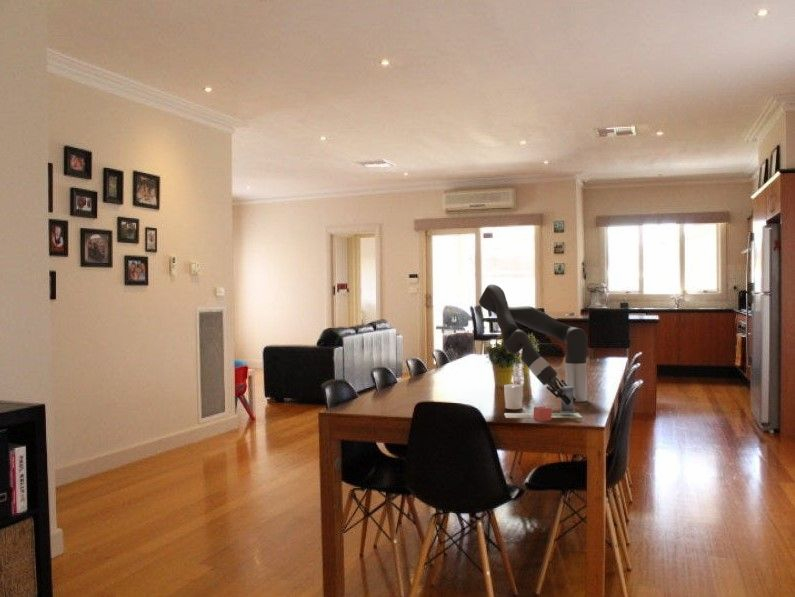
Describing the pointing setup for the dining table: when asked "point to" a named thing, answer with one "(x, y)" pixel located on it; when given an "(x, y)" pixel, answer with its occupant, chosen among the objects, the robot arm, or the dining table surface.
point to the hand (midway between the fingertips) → (571, 402)
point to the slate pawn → (569, 393)
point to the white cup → (513, 396)
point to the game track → (553, 415)
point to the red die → (542, 413)
